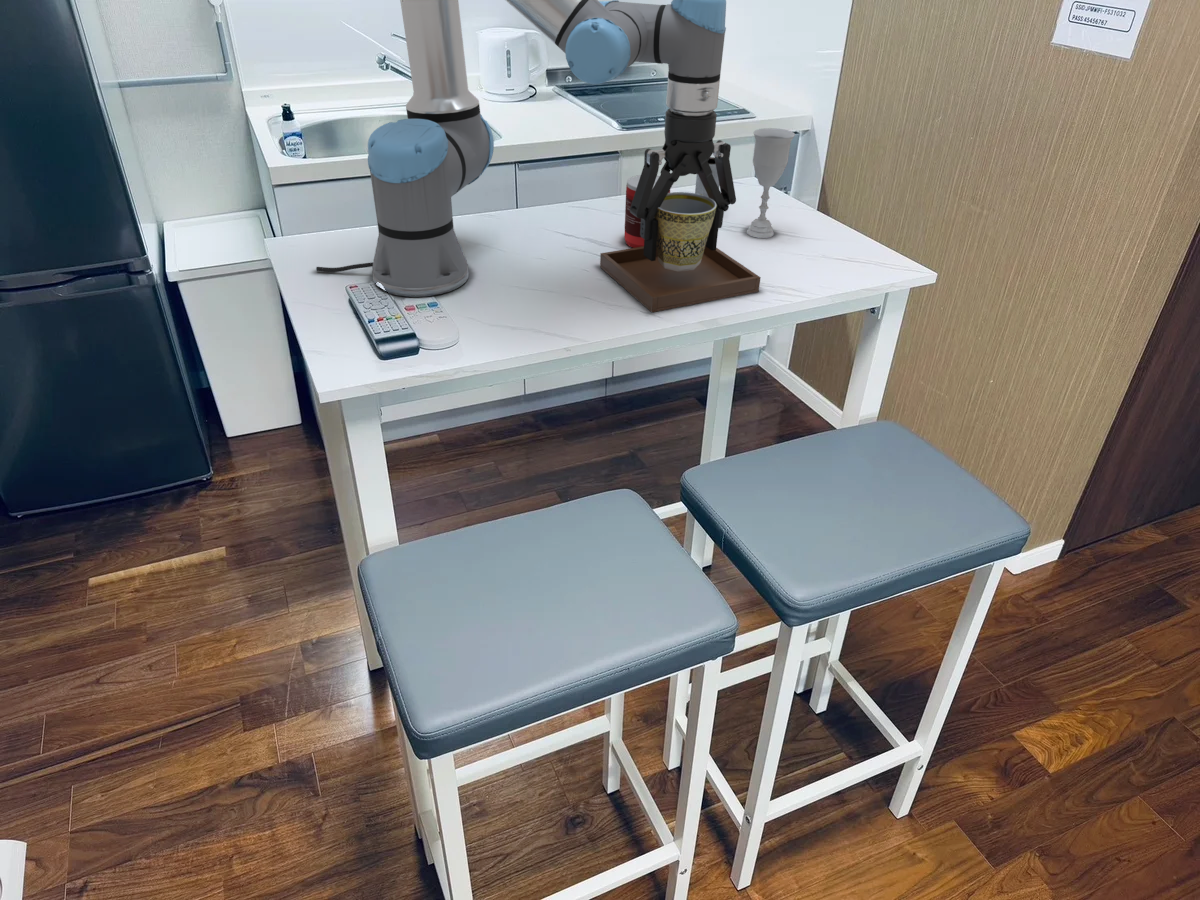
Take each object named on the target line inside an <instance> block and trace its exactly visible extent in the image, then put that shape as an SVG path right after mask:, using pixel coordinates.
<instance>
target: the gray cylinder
mask: <svg viewBox="0 0 1200 900" xmlns="http://www.w3.org/2000/svg"><path fill="white" fill-rule="evenodd" d="M708 164H709V166H710V168H711V170H712V175H713V177H714V179H715V181H716V184H717V186H718V188H719V189H720V185H719V180H718V175H717V169H716V164H715V156H714V157H713V156H711V157H710V158H709V160H708ZM695 178H696V179H695V189H694V193H695V194H702V195H704V196H706V197H709V196H708V194H707V192H706V190H705V188H704V186H703V184H702V182H701V180H700V177H699V175H698V174H696V177H695Z"/></svg>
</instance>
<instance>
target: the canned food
mask: <svg viewBox="0 0 1200 900" xmlns="http://www.w3.org/2000/svg"><path fill="white" fill-rule="evenodd" d="M640 176H641V174H639V175H634V176H630V177H629V178H628V179H627V180H626V187H625V209H624V237H623V238H624V242H625V244H626V245H627V246H628V247H630V248H636V247H643V246H644V239H643V238H642V237H641V235H640V229H641V218H637V217H636V216H634V215H633V214H632V213H630V207H631V204H632V201H633V198H634V195H635V192H636V188H637V185H638V182H639V179H640ZM659 177H660V175H657V177H656V180H655V183H654V186H655V184H656V182H657V180H658V178H659ZM654 186H653V187H654ZM668 193H671V189H670V190H669V192H668Z"/></svg>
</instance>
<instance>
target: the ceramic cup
mask: <svg viewBox="0 0 1200 900" xmlns="http://www.w3.org/2000/svg"><path fill="white" fill-rule="evenodd" d="M716 206H717V205H716V202H715V201H714V200H712V199H711V198H709V197H706V196H704V195H702V194H695V192H689V191H688V192H687V191H674V192H673V191H672V192H670V193H668V194H667V196H666V197H665V199H664V201H663V203H662V204H661V206H660V208H659V207H658V208H657V213H656V215H655V217H654V218H655V219H656V220H658V230H657V255H658V261H659V263H660V264H661V265H662V266H663V267H664V268H665V269H670V270H674V271H687V270H694V269H695V268H696V267H697V266H698V265H699V264H700V263H701V259H702V256H703V253H704V249H705V245H706V242H707V239H708V235H709V231H710V229H711V226H712V223H713V219H714V216H715V211H716Z"/></svg>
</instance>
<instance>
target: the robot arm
mask: <svg viewBox="0 0 1200 900" xmlns="http://www.w3.org/2000/svg"><path fill="white" fill-rule="evenodd" d="M399 1H400V6H401V8H400V9H401V15H402V23H403V28H404V29H403V30H404V35H405V42H406V48H407V49H406V50H407V55H408V63H409V70H410V76H411V83H412V90H413V92H412V93H413V94H412V96H411V97H410V99H409V100H408V101H407V103H406V104H405V109H406V110H405V111H406V117H407V118H404V119H398V120H397V121H394V122H393V121H390V122H387V123H385V124H382V125H380V126H379V127H377V128H376V129H375V130H373V131H372V132H371V134H370V135H369V138H368V141H367V153H368V155H367V166H368V169H369V172H370V180H371V187H372V194H373V202H374V209H375V216H376V224H377V230H378V236H377V242H376V247H375V250H374V251H375V252H374V257H373V261H371V262H364V263H363V262H362V263H356V264H350V265H349V264H348V265H345V266H338V267H325V266H316V267H315V270H316V272H323V273H339V272H345V271H351V270H356V269H364V268H372V270H371V273H372V280H373V284H374V283H377V282H379V283H381V284H382V285H383V286H384V288H385V290H386V291H387V292H388V293H387V292H386V293H387V294H391V295H396V296H399V297H408V298H409V297H411V298H412V297H413V298H414V297H415V298H418V297H419V298H420V297H422V298H423V297H431V296H438V295H442V294H446V293H449V292H451V291H454V290H456V289H458V288H460V287H461V286H463V285H464V284H465V283H466V282H467V281H468V279H469V264H468V261H467V258H466V256H465V254H464V251H463V248H462V247H461V244H460V242H459V238H458V237H457V234H456V231H455V228H454V217H453V205H452V197H453V196H454V195H455V196H456V195H457V193H458V192H460V191H461V190H462V189H464V188H465V187H467V186H468V185H471V184H472V183H474V182H475V181H477V180H478V179H479V178H480V177H481V176H482V174H483V173H484V172H485V171H486V169H487V168H488V166H490V163H491V161H492V158H493V155H494V149H495V141H494V135H493V131H492V128H491V127H490V124H489V122H488V121H487V120H485V119H484V117H483V115H482V114H481V107H480V100H479V99H478V97H476V96H475V95H474V94H473V93H472V92H471V91H470V90H469V84H468V74H467V66H466V57H465V49H464V48H465V47H464V39H463V32H462V31H463V30H462V29H463V28H462V22H461V21H462V20H461V12H460V3H459V0H399ZM505 2H507V3H508V4H509V6H511V7H512V8H513V9H515V10H516V11H517V13H519V14H520V15H522V17H524V18H525V19H526V20H527V21H528V22H529V23H530V24H531V25H533V26H534V27H535V28H536V29H537V30H538V31H540V32H541V33H542V34H543V35H544V36H545V37H546V38H547V39H548V40H550V41H551V42H552V43H553V44H554V45H556V46H557V47H558V48H559V49H560V50H561V51H562V52H563V53H564V54H565V59H566V62H567V65H568V67H569V70H570V71H571V73H572V74H573V75H574V76H575V77H576V78H577V79H578V80H580V81H582V82H584V83H586V84H589V85H600V84H605V83H607V82H610V81H612V80H614V79H616V78H618V77H619V76H620V75H622V74H623V73H624V72H625V70H626V69H627V68H629V67H631V66H632V65H634V64H635V63H648V64H658V65H659V64H661V65H662V64H666V65H668V67H667V68H668V71H667V72H668V73H667V87H666V99H665V105H666V107H667V108H668V109H667V110H666V111H665V116H664V132H663V133H664V144H663V145H662V147H661V149H654V150H653V149H651V148H646V149H645V151H644V156H643V157H644V160H643V161H644V162H643V167H642V170H641V173H640V175H641V176H640V179H639V182H638V185H637V188H636V192H635V195H634V198H633V201H632V204H631V207H630V213H632V214H633V215H634V216H636V217H637V218H641V229H640V235H641V237H642V238H643V239H644V256H645V257H647V258H648V259H649V260H650V261H656V246H657V230H658V220H656V219H655V218H654V217H655V215H656V213H657V208H658V207H659V208H660V206H661V204H662V203H663V201H664V199H665V197H666V196H667V194H668V192H669V190H670V191H671V188H672V187H673V185H674V184H675V183H677V182H678V180H679V178H680V177H684V176H685V177H686V176H688V175H697V174H698V175H699V177H700V180H701V182H702V184H703V186H704V188H705V190H706V192H707V194H708V196H709V198H711V199H712V200H714V201H715V202H716V205H717V206H716V211H715V216H714V219H713V223H712V226H711V229H710V231H709V235H708V239H707V242H706V245H705V246H706V247H707V248H709V249H710V250H712V251H713V250H716V248H717V246H718V245H717V244H718V236H719V235H718V234H719V229H722V226H723V223H724V222H723V221H724V213H725V212H727V211H728V210H729V205H734V204H736V202H737V196H736V191H735V185H734V179H733V173H732V167H731V161H730V156H731V149H732V146H731V144H729V143H727V142H725V141H723V140H722V139H719V140H717V141H716V142H714V138H715V136H716V135H715V134H716V127H717V116H718V114H717V113H716V111H715V110H716V109H717V108H718V104H719V93H720V83H721V82H720V81H721V75H722V74H721V72H722V64H723V53H724V45H725V37H726V31H727V27H726V15H727V0H671V2H670V3H668V4H653V3H640V2H628V1H619V0H606V1H605V0H602V1H601V0H505ZM712 156H714V158H715V164H716V169H717V175H718V180H719V185H720V186H719V188H718V186H717V184H716V181H715V179H714V177H713V175H712V170H711V168H710V166H709V164H708V160H709V158H710V157H712ZM663 159H664V161H665V163H664V164H663ZM662 164H663V166H662V168H661V170H660V172H659V168H660V166H661V165H662ZM658 173H660V175H659V176H660V177H659V178H658V180H657V182H656V184H655V186H654V183H655V180H656V177H657V176H658ZM653 186H654V187H653Z"/></svg>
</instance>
